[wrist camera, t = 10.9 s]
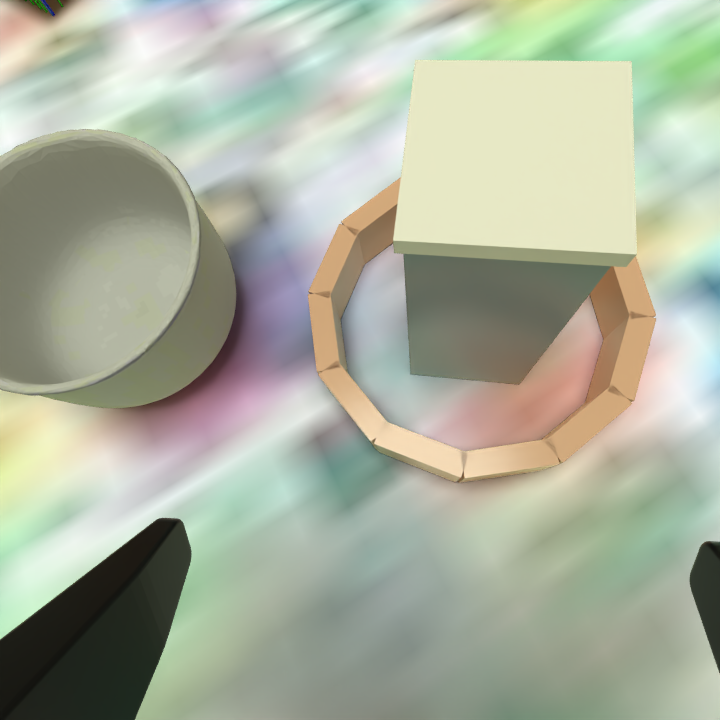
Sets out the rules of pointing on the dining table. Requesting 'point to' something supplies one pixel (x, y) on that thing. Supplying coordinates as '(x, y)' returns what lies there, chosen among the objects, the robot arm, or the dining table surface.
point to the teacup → (106, 273)
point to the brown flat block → (45, 5)
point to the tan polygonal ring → (603, 404)
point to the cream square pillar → (510, 207)
